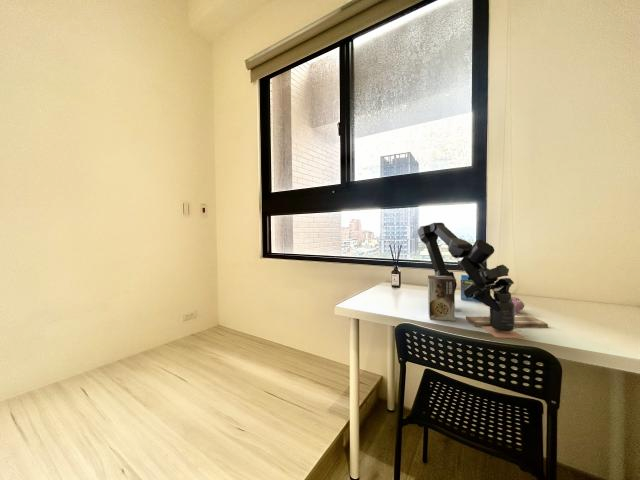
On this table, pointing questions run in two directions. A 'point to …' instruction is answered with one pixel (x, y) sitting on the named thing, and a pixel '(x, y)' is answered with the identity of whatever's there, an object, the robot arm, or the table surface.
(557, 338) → the table surface
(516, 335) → the end pad
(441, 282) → the coffee box
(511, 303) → the supplement bottle
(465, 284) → the label tape box
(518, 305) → the video game controller
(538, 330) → the table surface
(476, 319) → the walnut board
